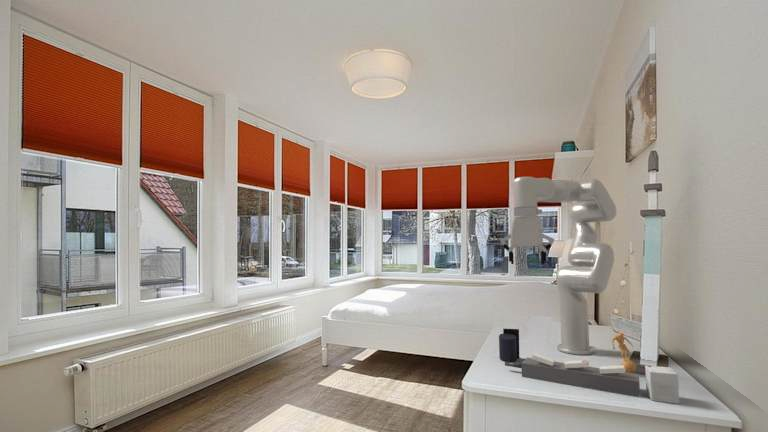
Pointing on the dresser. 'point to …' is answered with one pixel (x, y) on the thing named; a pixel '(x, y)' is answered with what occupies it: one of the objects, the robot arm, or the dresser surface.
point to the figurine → (627, 363)
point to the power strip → (580, 377)
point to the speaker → (509, 345)
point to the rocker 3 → (612, 369)
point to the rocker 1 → (543, 359)
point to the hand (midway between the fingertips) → (527, 263)
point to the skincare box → (662, 384)
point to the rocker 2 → (576, 364)
